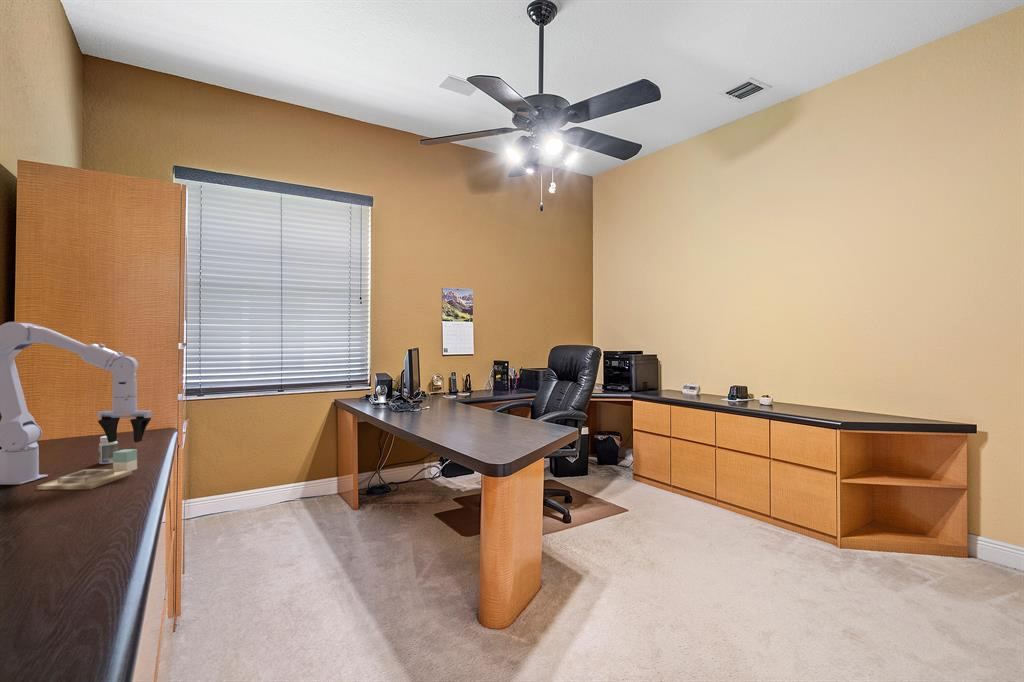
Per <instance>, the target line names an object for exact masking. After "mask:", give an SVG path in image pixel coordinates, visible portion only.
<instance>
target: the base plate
mask: <svg viewBox="0 0 1024 682" xmlns="http://www.w3.org/2000/svg"><path fill="white" fill-rule="evenodd" d="M132 474H133V471H114V469H113V468H111V469H110V468H109V469H107V468H103V469H101V468H100V469H94V468H93V469H92V468H91V469H82V470H79V471H76V472H72V473H69V474H66V475H63V476H59V477H57V478H56V479H53V480H51V481H48V482H45V483H41V484H39V485H36V491H37V490H93V489H95V488H98V487H101V486H104V485H106V484H109V483H112V482H114V481H119V480H120V479H123V478H126V477H127V476H128V477H129V476H131V475H132Z"/></svg>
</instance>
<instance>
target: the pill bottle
mask: <svg viewBox="0 0 1024 682" xmlns="http://www.w3.org/2000/svg"><path fill="white" fill-rule="evenodd" d="M99 441H100V442H99V444H98V463H99V465H108V464H109V465H110V464H113V452H116V451H119V441H117V440H116V441H115V442H111V443H109V442H108V439H107V436H106V435H102V436H100V437H99Z"/></svg>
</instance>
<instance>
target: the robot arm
mask: <svg viewBox="0 0 1024 682" xmlns="http://www.w3.org/2000/svg"><path fill="white" fill-rule="evenodd" d="M34 344H49V345H51V346H55V347H57V348H60V349H62V350H65V351H69V352H71V353H73V354H74V353H75V354H77V355H79V356H80V357H81V360H82V361H83V362H85V363H87V364H90V365H93V366H96V367H98V368H99V369H103V370H105V371H109V372H110V373H111V375H112V386H111V387H112V388H111V389H112V410H101V411H97V419H99V420H98V421H97V423H98V425H100V426H101V428H102V429H103V431H104V434H105V436H107V439H108V442H109V443H111V442H115V441H117V439H118V438H117V437H118V426H119V423H120V419H122V418H123V419H124V418H125V419H126V418H130V419H129V420H130V424H131V426H132V430H133V431H132V432H133V442H134V443H139V442H142V441H143V437H144V435H145V430H146V428H147V426H148V425H149V423H150V422H151V421H152V417H153V415H152V414H153V410H144V409H143V410H142V409H138V381H137V370H138V369H139V366H140V365H139V362H138V360H137V359H136V358H135V357H133V356H131V355H124V352H121V351H118V352H117V351H114V350H112V349H109V348H107V347H106V344H103V343H99V344H97V343H90V344H85V343H83V342H81V341H79V340H76V339H74V338H72V337H70V336H68V335H67V336H66V335H65V334H62V333H60V332H58V331H56V330H53V329H51V328H48V327H45V326H41V325H37V324H34V323H32V322H17V321H8V322H5V323H3V324H1V325H0V416H1V418H0V447H1V449H0V485H23V484H26V483H30V482H34V481H36V480H40V479H43V478H47V477H48V476H49V474H40V471H39V470H40V469H39V468H40V457H39V456H40V455H39V453H40V452H39V451H40V450H39V449H40V448H39V446H40V445H39V444H38V441H40V439H41V437H42V435H43V430H42V428H41V426H40V425H39V424H38V423H36V420H35V418H34V416H33V415H32V414H31V412H29V409H28V407H27V403H26V398H25V394H24V390H23V387H22V384H21V380H20V377H19V372H18V368H17V365H16V360H15V357H17V356H18V354H20V353H21V352H22V351H24V349H26V348H27V347H29V346H31V345H34Z"/></svg>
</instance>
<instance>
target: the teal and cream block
mask: <svg viewBox="0 0 1024 682" xmlns="http://www.w3.org/2000/svg"><path fill="white" fill-rule="evenodd" d="M112 469H114V471H132V472H133V471H134V470H137V469H138V449H137V448H135V449H134V448H129V449H128V448H127V449H126V448H125V449H120V450H118V451H116V452H113V463H112Z"/></svg>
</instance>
